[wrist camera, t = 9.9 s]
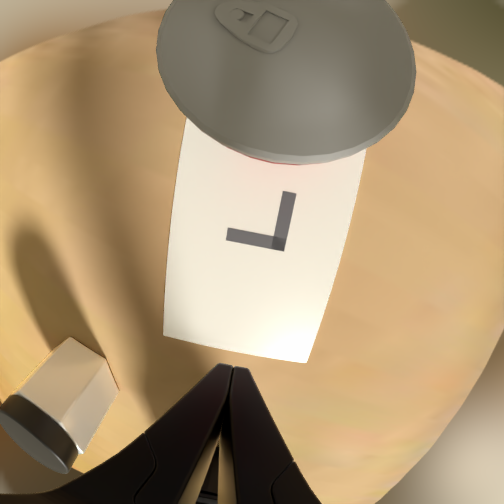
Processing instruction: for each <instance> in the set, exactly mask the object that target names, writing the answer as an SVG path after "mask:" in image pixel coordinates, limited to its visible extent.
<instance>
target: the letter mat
mask: <svg viewBox="0 0 504 504" xmlns="http://www.w3.org/2000/svg"><path fill="white" fill-rule="evenodd" d="M365 153H366V149H364V150H362V151H360V152H358V153H356V154H354V155H352V156H349V157H346V158H342V159H338V160H335V161H331V162H328V163H320V164H308V165H298V166H297V165H286V164H273V163H269V162H265V161H261V160H257V159H253V158H250V157H248V156H245V155H243V154H241V153H238V152H236V151H234V150H232V149H229V148H227V147H226V146H223V145H222V144H220V143H219V142H217V141H216V140H214V139H213V138H211V137H210V136H208V135H206V134H205V133H203V132H202V131H201V130H200V129H199V128H198V127H196V126H195V125H194V124H193V123H192V122H191V121H190V120H189V119H188V118H187V119H186V124H185V129H184V135H183V141H182V146H181V152H180V159H179V165H178V171H177V178H176V185H175V193H174V200H173V208H172V217H171V226H170V235H169V246H168V257H167V270H166V284H165V301H164V324H163V335H164V336H167V337H171V338H175V339H179V340H183V341H188V342H192V343H196V344H201V345H205V346H210V347H214V348H219V349H224V350H229V351H234V352H239V353H245V354H250V355H256V356H262V357H268V358H274V359H281V360H287V361H295V362H302V363H306V362H307V360H308V357H309V354H310V352H311V349H312V346H313V343H314V340H315V338H316V335H317V332H318V329H319V326H320V323H321V320H322V317H323V314H324V311H325V308H326V305H327V302H328V299H329V296H330V292H331V289H332V286H333V283H334V279H335V276H336V273H337V269H338V266H339V262H340V259H341V255H342V252H343V248H344V244H345V240H346V237H347V233H348V229H349V225H350V221H351V217H352V213H353V209H354V205H355V200H356V196H357V192H358V187H359V183H360V178H361V173H362V168H363V163H364V158H365Z"/></svg>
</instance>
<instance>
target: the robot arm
mask: <svg viewBox="0 0 504 504" xmlns="http://www.w3.org/2000/svg"><path fill="white" fill-rule="evenodd" d="M232 371H233V372H232ZM221 427H222V428H221ZM220 432H221V434H220ZM144 433H145V434H144ZM144 433H142V434H141V435H140V436H139V437H137V438H136V439H135V440H134V441H133V442H131V443H130V444H129V445H128V446H126V447H125V448H124V449H123V450H121V451H120V452H119V453H117V454H116V455H114V456H113V457H111V458H110V459H108V460H106V461H105V462H103V463H102V464H100V465H98V466H97V467H95V468H93V469H91V470H90V471H88V472H86V473H84V474H82V475H81V476H79V477H77V478H75V479H73V480H72V481H70V482H68V483H66V484H64V485H62V486H60V487H57V488H55V489H52V490H49V491H45V492H40V493H28V494H0V504H322V503H321V502H320V501H319V499H318V498H317V497H316V495H315V494H314V492H313V491H312V490H311V488H310V487H309V485H308V483H307V482H306V480H305V478H304V477H303V475H302V473H301V472H300V470H299V468H298V466H297V464H296V462H293V461H294V459H293V457H292V455H291V453H290V451H289V449H288V447H287V445H286V444H285V442H284V440H283V438H282V436H281V434H280V432H279V430H278V428H277V426H276V424H275V422H274V420H273V418H272V416H271V414H270V412H269V410H268V408H267V406H266V404H265V402H264V400H263V398H262V396H261V394H260V391H259V389H258V387H257V385H256V383H255V381H254V379H253V377H252V375H251V372H250V370H249V369H248V368H244V367H238V366H235V367H234V368H233V366H232V365H228V364H223V363H218V364H217V365H216V366H215V367H214V368H213V369H212V370H211V371H210V372H209V373H208V374H206V375H205V376H204V377H203V378H202V379H201V380H200V381H199V382H198V383H197V384H196V385H195V386H194V387H193V388H192V389H191V390H190V391H189V392H188V393H186V394H185V395H184V396H183V397H182V398H181V399H180V400H179V401H178V402H177V403H176V404H175V405H174V406H172V407H171V408H170V409H169V410H168V411H167V412H166V413H165V414H164V415H163V416H161V417H160V418H159V419H158V420H157V421H156V422H155V423H154V424H152V425H151V426H150V427H149V428H148V429H147V430H146V431H145V432H144ZM219 436H220V446H219V447H216V446H217V443H218V440H219Z"/></svg>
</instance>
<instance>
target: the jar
mask: <svg viewBox="0 0 504 504" xmlns="http://www.w3.org/2000/svg"><path fill="white" fill-rule="evenodd" d="M118 393H119V390H118V387H117V385H116V383H115V380H114V378H113V376H112V373H111V371H110V368H109V366H108V363H107V361H106V359H105V358H103V357H101V356H100V355H98V354H97V353H95V352H93V351H92V350H90V349H89V348H87V347H85V346H84V345H82V344H81V343H79V342H78V341H76V340H75V339H73V338H72V337H69V338H67V339H66V340H65V341H63V342H62V343H61V344H59V345H58V346H57V347H55V348H54V349H53V350H52V351H51V352H50V353H49V354H48V355H47V356H46V357H45V358H44V359H43V360H42V361H41V362H40V363H39V364H38V365H37V366H36V367H35V368H34V369H33V370H32V371H31V373H30V374H29V375H28V376H27V377H26V378H25V379H24V380H23V381H22V382H21V383H20V384H19V386H18V387H17V388H16V389H15V390H14V391H13V392H12V393H11V394H10V396H9V397H8V398H7V399H6V400H5V402H4V403H3V404H2V405H1V406H0V424H1V425H2V427H3V428H4V429H5V431H6V432H7V433H8V435H9V436H10V437H11V438H12V439H13V440H14V441H15V442H16V443H17V444H18V445H19V446H20V447H21V448H22V449H23V450H24V451H25V452H27V453H28V454H29V455H30V456H31V457H33V458H34V459H35V460H37V461H38V462H40V463H41V464H43V465H44V466H46V467H48V468H50V469H52V470H54V471H56V472H59V473H63V474H66V473H68V472H69V470H70V469H71V467H72V465H73V463H74V461H75V459H76V458H77V456H78V454H84V452H85V451H86V449H87V447H88V445H89V443H90V442H91V440H92V438H93V436H94V434H95V433H96V431H97V429H98V427H99V426H100V424H101V422H102V420H103V419H104V417H105V415H106V413H107V412H108V410H109V408H110V407H111V405H112V403H113V401H114V400H115V398H116V396H117V395H118Z"/></svg>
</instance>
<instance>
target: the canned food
mask: <svg viewBox="0 0 504 504" xmlns="http://www.w3.org/2000/svg"><path fill="white" fill-rule="evenodd" d="M156 54H157V61H158V69H159V73H160V75H161V78H162V80H163V83H164V85H165V88H166V90H167V92H168V93H169V95H170V96H171V98H172V99H173V101H174V102H175V104H176V105H177V107H178V108H179V109H180V111H182V112H183V114H184V115H185V116H186V117H187V118H188V119H189V120H190V121H191V122H192V123H193V124H194V125H195V126H196V127H198V128H199V129H200V130H201V131H202V132H203V133H205V134H206V135H208V136H210V137H211V138H213V139H214V140H216V141H217V142H219V143H220V144H222V145H223V146H226V147H227V148H229V149H232V150H234V151H236V152H238V153H241V154H243V155H245V156H248V157H250V158H253V159H257V160H261V161H265V162H269V163H273V164H286V165H297V166H298V165H308V164H320V163H328V162H331V161H335V160H338V159H342V158H346V157H349V156H352V155H354V154H356V153H358V152H360V151H362V150H364V149H366V148H368V147H370V146H372V145H373V144H375V143H377V142H378V141H379V140H381V139H382V138H383V137H384V136H385V135H387V134H388V133H389V132H390V131H391V130H393V129H394V128H395V126H396V125H397V123H398V122H399V121H400V119H401V118H402V117H403V115H404V114H405V112H406V111H407V108H408V106H409V103H410V101H411V98H412V95H413V93H414V86H415V78H416V65H415V57H414V51H413V48H412V45H411V42H410V39H409V36H408V33H407V31H406V29H405V27H404V26H403V24H402V22H401V20H400V19H399V17H398V15H397V14H396V12H395V11H394V10H393V9H392V8H391V6H390V5H389V4H388V3H387V2H386V1H385V0H173V2H172V3H171V4H170V6H169V7H168V9H167V11H166V12H165V15H164V17H163V20H162V22H161V25H160V28H159V30H158V38H157V47H156Z"/></svg>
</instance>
